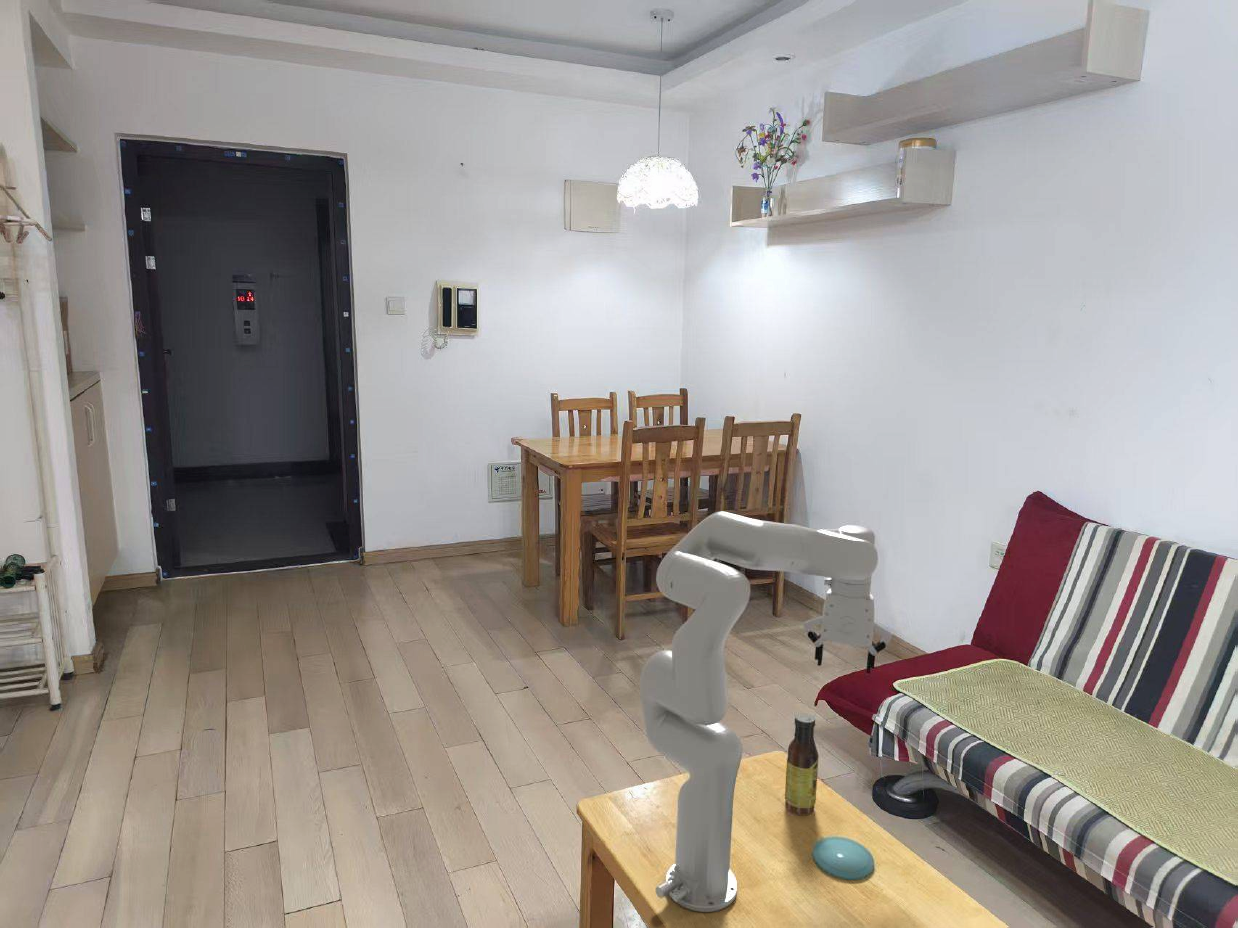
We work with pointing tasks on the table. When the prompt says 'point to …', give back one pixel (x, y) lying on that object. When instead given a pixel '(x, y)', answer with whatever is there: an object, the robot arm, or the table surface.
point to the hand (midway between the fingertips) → (843, 666)
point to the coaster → (843, 858)
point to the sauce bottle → (802, 767)
